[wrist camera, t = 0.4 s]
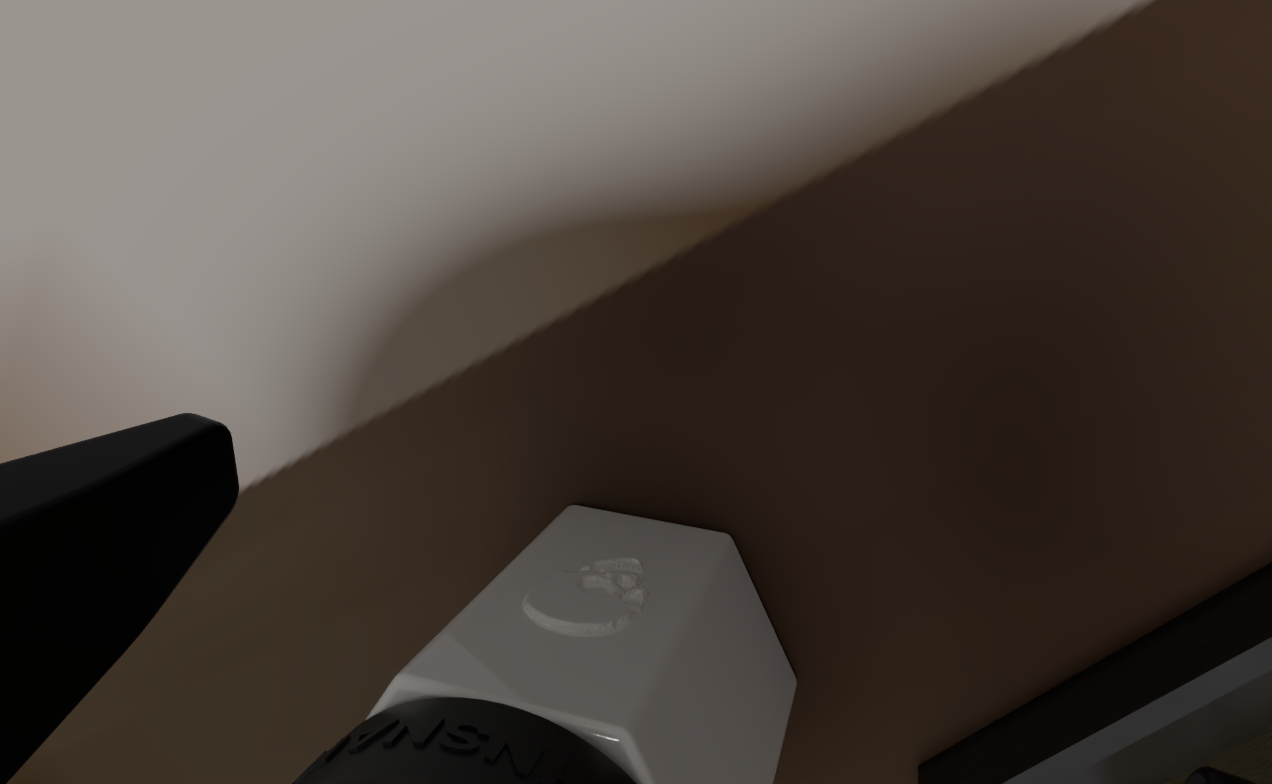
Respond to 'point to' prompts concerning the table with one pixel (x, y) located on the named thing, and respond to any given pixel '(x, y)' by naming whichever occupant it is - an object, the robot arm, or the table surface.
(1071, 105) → the table surface
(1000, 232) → the table surface
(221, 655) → the table surface
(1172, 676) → the gray square tray
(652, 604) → the jar
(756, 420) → the table surface
